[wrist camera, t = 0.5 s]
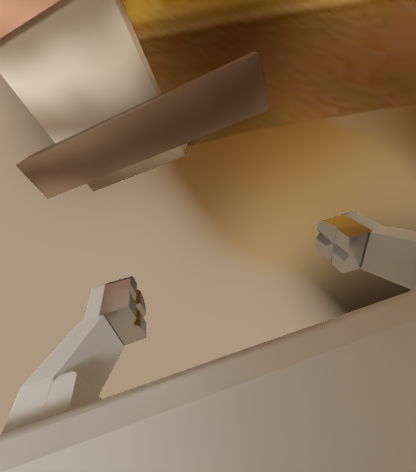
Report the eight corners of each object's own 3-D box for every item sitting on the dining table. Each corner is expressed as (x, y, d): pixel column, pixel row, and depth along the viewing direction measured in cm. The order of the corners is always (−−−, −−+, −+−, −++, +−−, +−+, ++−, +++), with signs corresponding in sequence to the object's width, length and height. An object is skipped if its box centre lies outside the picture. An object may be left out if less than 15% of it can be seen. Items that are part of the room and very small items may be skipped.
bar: (33, 153, 25) (15, 165, 22) (253, 51, 19) (259, 52, 17) (61, 185, 27) (47, 198, 25) (263, 102, 22) (270, 110, 19)
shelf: (28, -83, 31) (-315, -319, 10) (104, -142, 28) (-165, -613, 8) (141, 128, 47) (92, 192, 27) (194, 104, 45) (184, 157, 25)
